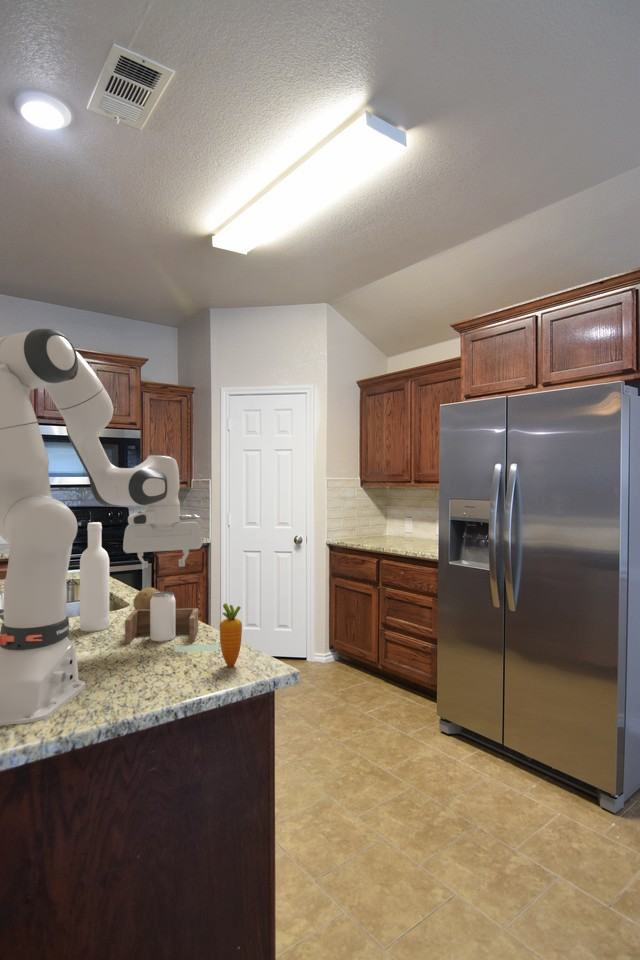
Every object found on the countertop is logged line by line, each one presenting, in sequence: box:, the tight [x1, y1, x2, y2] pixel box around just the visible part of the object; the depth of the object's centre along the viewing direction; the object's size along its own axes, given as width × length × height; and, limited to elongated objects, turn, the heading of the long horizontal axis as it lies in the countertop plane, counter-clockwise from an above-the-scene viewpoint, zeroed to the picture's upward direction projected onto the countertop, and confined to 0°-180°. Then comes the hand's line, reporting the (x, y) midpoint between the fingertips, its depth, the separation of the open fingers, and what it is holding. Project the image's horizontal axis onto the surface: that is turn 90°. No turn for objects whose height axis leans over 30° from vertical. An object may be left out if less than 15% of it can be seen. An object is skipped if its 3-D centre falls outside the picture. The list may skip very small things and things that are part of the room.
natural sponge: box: [132, 586, 160, 610], centre depth 160 cm, size 9×9×10 cm
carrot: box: [219, 603, 243, 668], centre depth 121 cm, size 5×5×15 cm
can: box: [149, 591, 176, 642], centre depth 143 cm, size 6×6×12 cm
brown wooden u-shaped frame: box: [124, 607, 199, 645], centre depth 143 cm, size 10×17×6 cm, turn 97°
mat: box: [173, 643, 221, 653], centre depth 131 cm, size 11×11×1 cm
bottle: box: [79, 521, 111, 633], centre depth 152 cm, size 8×8×30 cm
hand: (163, 567), depth 143 cm, fingers open, 8 cm apart
